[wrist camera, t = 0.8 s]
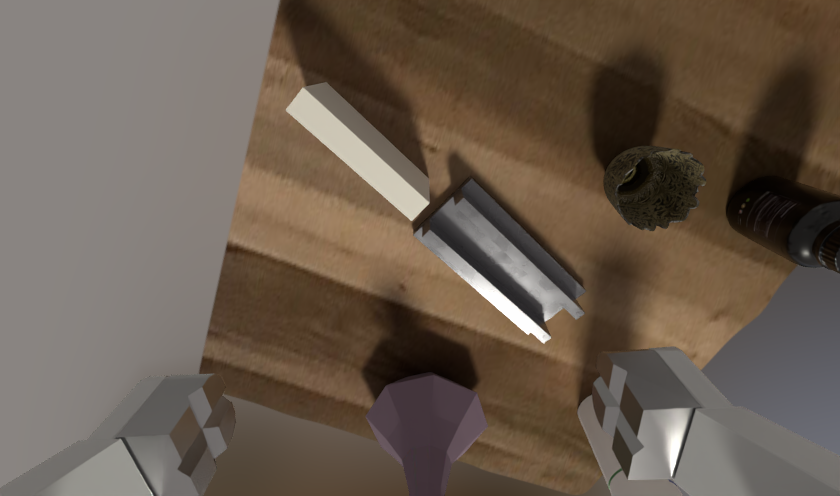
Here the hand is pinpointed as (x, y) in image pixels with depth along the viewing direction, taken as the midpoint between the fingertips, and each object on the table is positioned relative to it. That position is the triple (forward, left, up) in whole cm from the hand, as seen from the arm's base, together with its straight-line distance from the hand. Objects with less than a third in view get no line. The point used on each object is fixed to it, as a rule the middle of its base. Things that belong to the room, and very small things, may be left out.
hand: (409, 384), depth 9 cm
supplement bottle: (-20, +32, -35) cm, 51 cm away
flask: (+26, +26, -35) cm, 51 cm away
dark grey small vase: (-12, +18, -35) cm, 41 cm away
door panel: (+4, -3, -35) cm, 35 cm away
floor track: (+4, +17, -35) cm, 39 cm away
